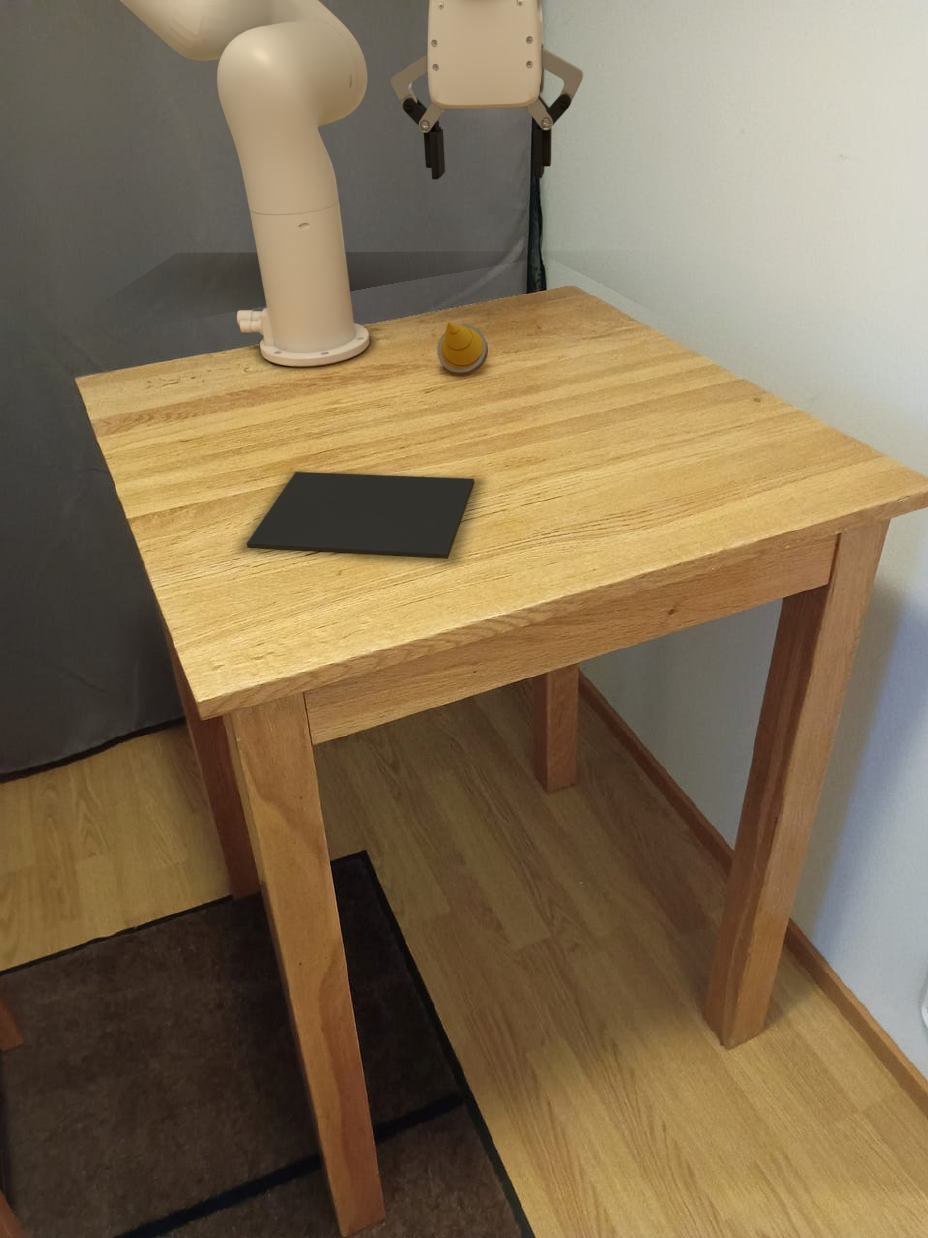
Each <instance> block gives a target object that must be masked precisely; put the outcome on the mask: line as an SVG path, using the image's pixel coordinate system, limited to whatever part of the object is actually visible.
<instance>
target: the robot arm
mask: <svg viewBox="0 0 928 1238" xmlns="http://www.w3.org/2000/svg"><path fill="white" fill-rule="evenodd" d="M119 2H120V3H121V4H123V5H124V6H125V7H126V8H127V9H128V10H129V11H131V12H132V13H133V14H134V15H135V16H136V17H137V18H138V19H139V20H140V21H141V22H142V23H143V24H145V26H146V27H148V28H149V29H150V30H151V31H152V32H153V33H154V34H155V35H157V36H158V37H159V38H160V39H161V41H163V42H164V43H165V44H167V45H168V46H169V47H170V49H172V50H173V51H175V52H176V53H177V54H179V55H180V56H181V57H184V58H186V59H187V60H190V61H191V60H192V61H199V62H208V61H217V60H219V62H218V65H217V72H216V86H217V92H218V94H217V95H218V98H219V102H220V105H221V109H222V112H223V113H224V117H225V120H226V123H227V126H228V128H229V131H230V135H231V136H232V140H233V143H234V147H235V150H236V153H237V157H238V161H239V165H240V169H241V174H242V178H243V183H244V189H245V194H246V199H247V205H248V210H249V215H250V220H251V221H250V222H251V226H252V231H253V237H254V243H255V249H256V254H257V259H258V265H259V271H260V276H261V282H262V287H263V293H264V299H265V306H266V307H264V308H263V309H262V311H260V310H254V309H251V310H250V309H248V310H247V309H239V310H238V311H237V313H236V323H237V325H238V327H239V330H240V332H241V333H246V334H247V333H259V334H260V335H262V336H263V337H262V339H261V340H260V342H259V349H260V354H261V356H262V357H263V358H264V359H265V360H266V361H268V362H270V363H274V364H276V365H281V366H285V367H287V366H289V367H316V366H317V367H318V366H325V365H329V364H335V363H339V362H342V361H346V360H348V359H351V358H353V357H355V356H358V355H360V354H361V353H363V352H364V351H365V350H366V349H367V348H368V347H369V345H370V342H371V341H370V333H369V331H368V329H367V328H365V326H363V325H361V324H359V323H356V322H355V319H354V312H353V303H352V296H351V289H350V279H349V271H348V263H347V255H346V249H345V239H344V232H343V231H344V230H343V223H342V214H341V206H340V200H339V192H338V191H339V190H338V185H337V177H336V173H335V170H334V166H333V162H332V160H331V157H330V155H329V153H328V150H327V148H326V146H325V144H324V142H323V139H322V137H321V134H320V132H319V127H322V126H326V125H329V124H332V123H335V122H338V121H339V120H342V119H344V118H346V117H347V116H350V115H351V114H352V113H353V112H354V111H355V110H356V109H357V108H358V107H359V106H360V105H361V103H362V101H363V99H364V97H365V94H366V91H367V86H368V68H367V65H366V64H367V63H366V59H365V55H364V54H363V51H362V48H361V46H360V44H359V43H358V41H357V39H356V38H355V36H354V35H353V34H352V32H351V31H350V29H348V27H346V25H345V24H344V23H343V22H342V21H341V20H340V19H339V18H338V17H337V16H336V15H335V14H334V13H333V12H332V11H330V9H328V7H326V6H325V5H324V4H323V3H322V2H321V1H320V0H119ZM427 17H428V18H427V19H428V20H427V53H426V54H425V55H423V56H421V57H420V58H418V59H417V60H416V61H414V62H413V63H411V64H409V65H408V66H406V67H405V68H404V69H402V70H401V71H399V72H398V73H396V74H395V75H393V76H392V77H391V78H390V86H391V87H392V89H393V91H394V93H395V95H396V97H397V99H398V101H399V102H400V104H401V105H402V109H403V111H404V112H405V113H406V114H407V115H408V117H409V118H410V119H411V120H412V121H413V122H414V123H415V124H416V125H417V126H418V128H419V130H420V131H421V132H422V133H423V144H424V159H425V160H424V161H425V168H426V169H431V170H430V171H431V180H439V179H441V178H442V176H443V175H444V174H445V173H446V164H445V163H446V160H445V145H444V144H445V143H444V142H445V139H444V129H443V128H442V126H440V119H441V118H442V116H443V115H444V113H445V112H446V110H448V109H451V110H452V109H454V110H458V109H459V110H460V109H461V110H463V109H464V110H466V109H500V108H501V109H504V108H505V109H506V108H522V107H525V108H526V110H527V111H528V113H529V114H530V115H531V117H532V118H533V120H535V122H536V128H535V129H534V131H533V177H534V178H535V179H542V178H543V176H544V174H545V168H546V167H551V165H552V129H553V128H552V127H553V126H554V125H555V123H556V122H557V121H558V120H559V119H560V118H561V117H562V116H563V115H564V113H565V112H566V111H567V110H568V109H569V108H570V106H571V104H572V103H573V100H574V98H575V96H576V94H577V92H578V89H579V87H580V85H581V83H582V81H583V79H584V72H583V70H582V69H580V68H579V67H577V66H576V65H574V64H573V63H571V62H569V61H567V60H565V59H564V58H562V57H560V56H558V55H557V54H555V53H553V52H551V51H549V50H548V49H546V48H545V40H544V38H545V37H544V18H543V5H542V0H429V2H428V16H427ZM545 70H546V71H547V72H549V73H551V74H552V75H554V76H556V77H557V78H560V79H561V80H562V81H563V87H562V89H561V91H560V93H559V95H558V97H557V98H556V99H555V100H554V101H553V102H552V104H551V105H550V106H549V104H548V103H547V101H546V100H545V99H544V97H543V96H542V95H541V94H542V93H543V91H544V88H545ZM426 73H427V86H428V94H429V98H430V101H431V103H430V105H429V106H428V108H427V107H426V106H425V105H424V104H423V103H422V102H421V101H420V100H419V99H418V97H416V95H415V93H414V90H413V88H412V84H413V83H414V82H415V81H416V80H418V79H419V78H420V77H422V76H424V75H425V74H426Z"/></svg>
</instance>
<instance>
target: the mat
mask: <svg viewBox="0 0 928 1238" xmlns="http://www.w3.org/2000/svg"><path fill="white" fill-rule="evenodd" d="M474 484H475V479H474V478H463V477H436V476H412V475H387V474H361V473H335V472H334V473H333V472H310V471H309V472H307V471H295V472H294V474H293V475H292V477H291V478H290V479H289V481H288V482H287V484H286V485H285V487H284V488H283V490H282V491H281V492H280V494H279V496H277V498H276V499H275V501H274V503H273V504H272V506H271V507H270V509H268V511H267V513H266V514H265V516H264V517H263V519H262V520H261V522H260V523H259V525H258V526H257V527H256V529H255V530H254V532H253V533H252V535H251V536H250V538H249V539H248V540H247V542H246V546H247V548H251V549H269V550H288V551H304V552H305V551H307V552H308V551H309V552H325V553H345V554H363V555H380V556H398V557H417V558H433V559H434V558H435V559H448V558H449V555H450V552H451V549H452V546H453V544H454V541H455V538H456V535H457V533H458V529H459V527H460V523H461V521H462V518H463V516H464V513H465V510H466V507H467V504H468V501H469V498H470V496H471V493H472V490H473V486H474Z"/></svg>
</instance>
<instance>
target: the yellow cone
mask: <svg viewBox="0 0 928 1238" xmlns="http://www.w3.org/2000/svg"><path fill="white" fill-rule="evenodd" d="M444 331H445V332H444V333H443V334H442V335H441V337H440V338H439V340H438V343H437V349H436V351H437V352H436V353H437V358H438V360H439V362H440V364H441V366H442V367H443V369H444V370H445V371H447V372H448V373H449V374H452V375H454V376H457V377H460V376H461V377H466V376H469V375H472V374H475V373H476V372H478V371H479V370H480V369H481V368H482V367H483V366H484V364H485V363H486V361H487V359H488V355H489V346H488V345H489V344H488V342H487V338H486V337H485V335H484V333H483V332H482V330H481V329H479V328H478V327H477V326H474V325H472V324H468V323H467V324H466V323H462V324H461V323H460V324H457V323H453V322H448V323H447V325H446V328H445V330H444Z"/></svg>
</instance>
